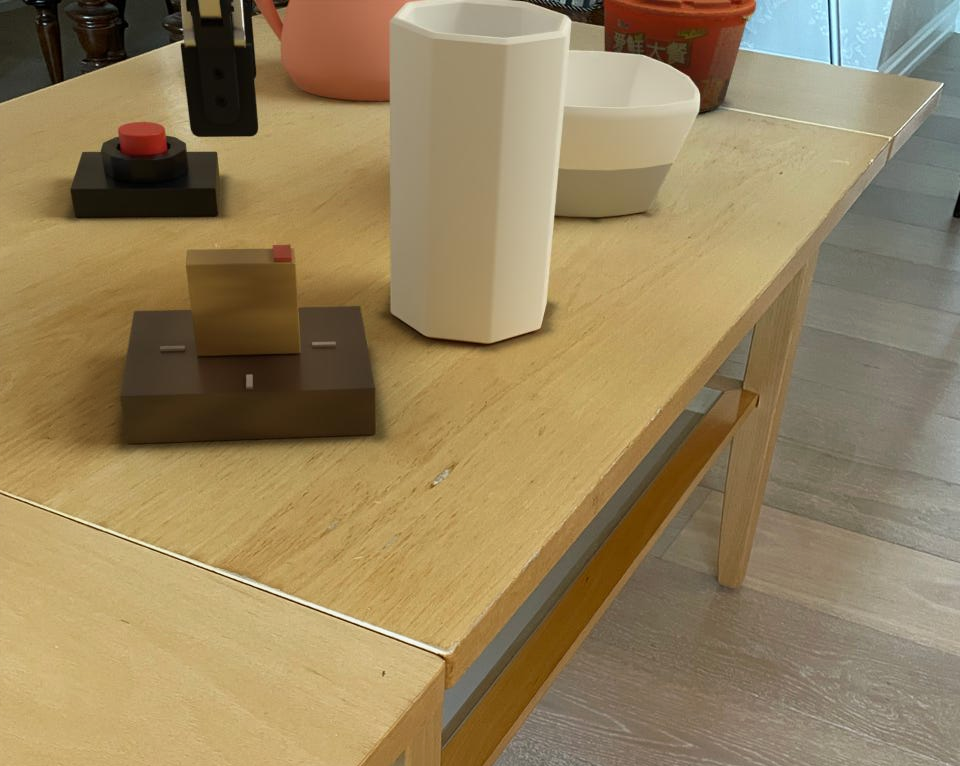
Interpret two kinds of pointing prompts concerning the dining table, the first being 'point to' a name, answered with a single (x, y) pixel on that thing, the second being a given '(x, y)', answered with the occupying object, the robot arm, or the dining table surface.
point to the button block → (146, 182)
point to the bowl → (620, 132)
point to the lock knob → (244, 301)
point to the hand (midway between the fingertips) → (226, 105)
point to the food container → (682, 37)
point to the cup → (474, 164)
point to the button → (142, 138)
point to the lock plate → (247, 382)
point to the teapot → (336, 45)
